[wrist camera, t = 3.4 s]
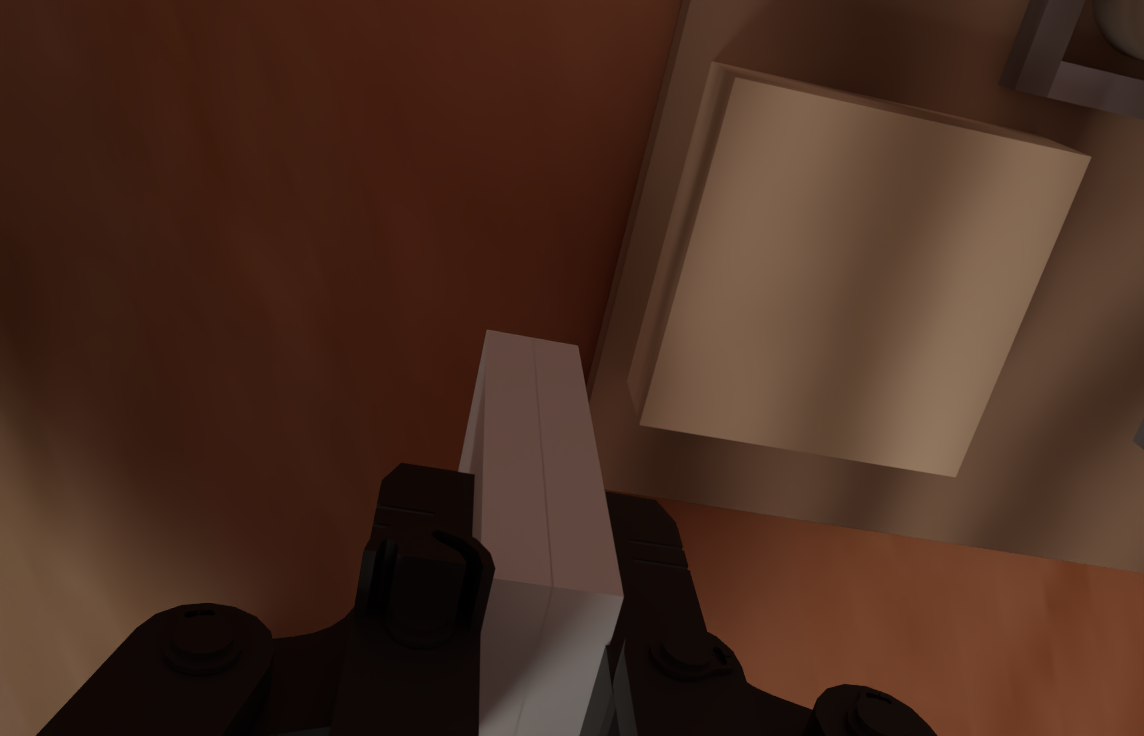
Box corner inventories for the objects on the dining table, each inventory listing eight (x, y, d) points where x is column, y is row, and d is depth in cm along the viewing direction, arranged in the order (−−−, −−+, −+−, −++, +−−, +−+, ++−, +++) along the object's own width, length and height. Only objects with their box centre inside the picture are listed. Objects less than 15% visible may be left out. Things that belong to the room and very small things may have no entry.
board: (566, 465, 35) (581, 574, 29) (754, -292, 26) (827, -348, 20) (1139, 556, 38) (1252, 669, 32) (1477, -88, 29) (1713, -87, 24)
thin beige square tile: (626, 381, 32) (639, 424, 29) (711, 61, 28) (735, 77, 26) (918, 431, 34) (956, 477, 31) (1036, 134, 30) (1091, 156, 27)
